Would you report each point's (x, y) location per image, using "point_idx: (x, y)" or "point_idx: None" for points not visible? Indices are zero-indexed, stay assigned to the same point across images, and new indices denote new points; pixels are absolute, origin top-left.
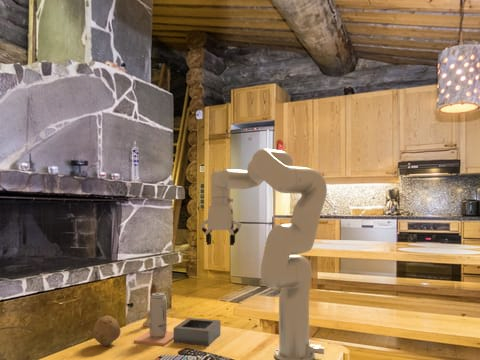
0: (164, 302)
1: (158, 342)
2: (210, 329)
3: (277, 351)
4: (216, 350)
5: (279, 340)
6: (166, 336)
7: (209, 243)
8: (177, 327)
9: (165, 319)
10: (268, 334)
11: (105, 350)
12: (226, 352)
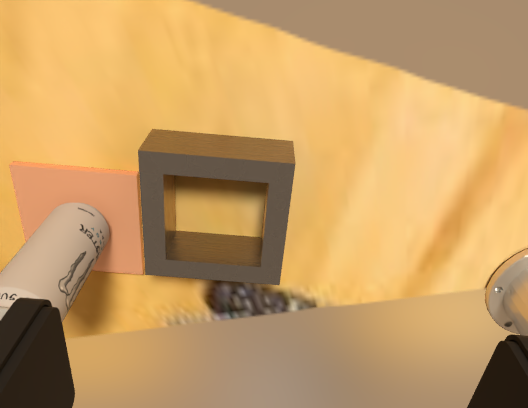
0: (63, 319)
1: (119, 271)
2: (281, 267)
3: (498, 295)
4: (311, 279)
5: (519, 325)
6: (112, 220)
7: (63, 384)
8: (156, 267)
9: (91, 264)
10: (492, 112)
11: None
12: (343, 288)
